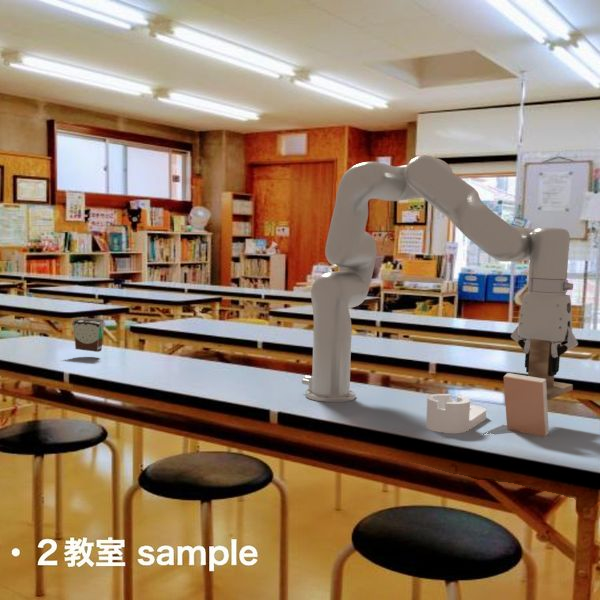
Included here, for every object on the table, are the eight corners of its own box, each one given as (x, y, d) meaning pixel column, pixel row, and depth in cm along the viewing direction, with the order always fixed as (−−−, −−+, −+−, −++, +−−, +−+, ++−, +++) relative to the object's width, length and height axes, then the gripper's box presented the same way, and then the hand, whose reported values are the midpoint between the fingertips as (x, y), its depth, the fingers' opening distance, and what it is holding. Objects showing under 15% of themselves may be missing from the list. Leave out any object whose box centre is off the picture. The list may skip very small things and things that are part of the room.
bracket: (460, 438, 136) (462, 406, 135) (419, 431, 140) (421, 399, 140) (489, 417, 153) (491, 388, 152) (452, 411, 157) (453, 383, 157)
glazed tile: (507, 428, 142) (503, 376, 138) (511, 424, 143) (507, 372, 140) (544, 437, 136) (542, 383, 133) (548, 432, 138) (546, 379, 134)
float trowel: (506, 392, 141) (510, 339, 140) (531, 383, 151) (534, 333, 150) (549, 399, 135) (553, 344, 134) (572, 390, 145) (576, 338, 144)
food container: (113, 349, 226) (113, 320, 226) (100, 352, 221) (101, 321, 220) (85, 346, 232) (85, 317, 231) (72, 348, 226) (72, 319, 225)
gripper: (594, 289, 139) (587, 377, 140) (515, 283, 150) (510, 365, 151) (581, 291, 133) (575, 382, 135) (501, 285, 144) (496, 369, 146)
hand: (541, 372), depth 143 cm, fingers closed on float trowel, 4 cm apart
